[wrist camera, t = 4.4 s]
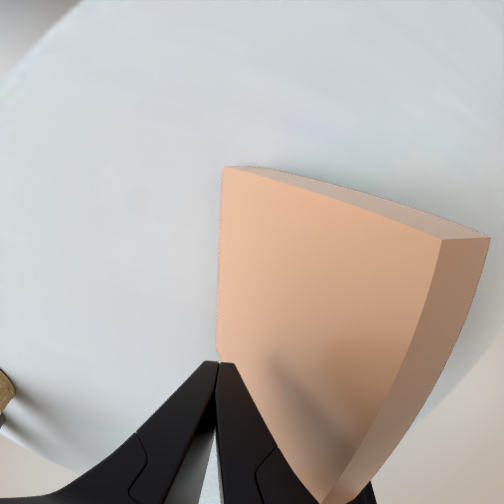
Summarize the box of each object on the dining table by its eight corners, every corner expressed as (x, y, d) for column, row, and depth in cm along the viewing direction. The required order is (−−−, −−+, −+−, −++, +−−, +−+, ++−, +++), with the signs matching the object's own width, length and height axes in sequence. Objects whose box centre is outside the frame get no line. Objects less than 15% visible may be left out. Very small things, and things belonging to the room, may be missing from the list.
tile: (264, 167, 14) (491, 237, 4) (249, 344, 17) (354, 498, 8) (222, 165, 13) (442, 239, 3) (216, 349, 16) (306, 520, 7)
